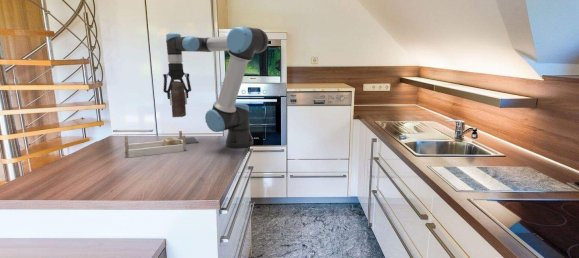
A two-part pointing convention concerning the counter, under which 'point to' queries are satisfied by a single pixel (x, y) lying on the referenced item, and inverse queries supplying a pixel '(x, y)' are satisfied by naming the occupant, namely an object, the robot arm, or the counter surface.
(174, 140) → the offcut upper
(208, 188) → the counter surface
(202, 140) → the counter surface
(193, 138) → the mat
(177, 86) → the rusty brown cylinder
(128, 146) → the rack
